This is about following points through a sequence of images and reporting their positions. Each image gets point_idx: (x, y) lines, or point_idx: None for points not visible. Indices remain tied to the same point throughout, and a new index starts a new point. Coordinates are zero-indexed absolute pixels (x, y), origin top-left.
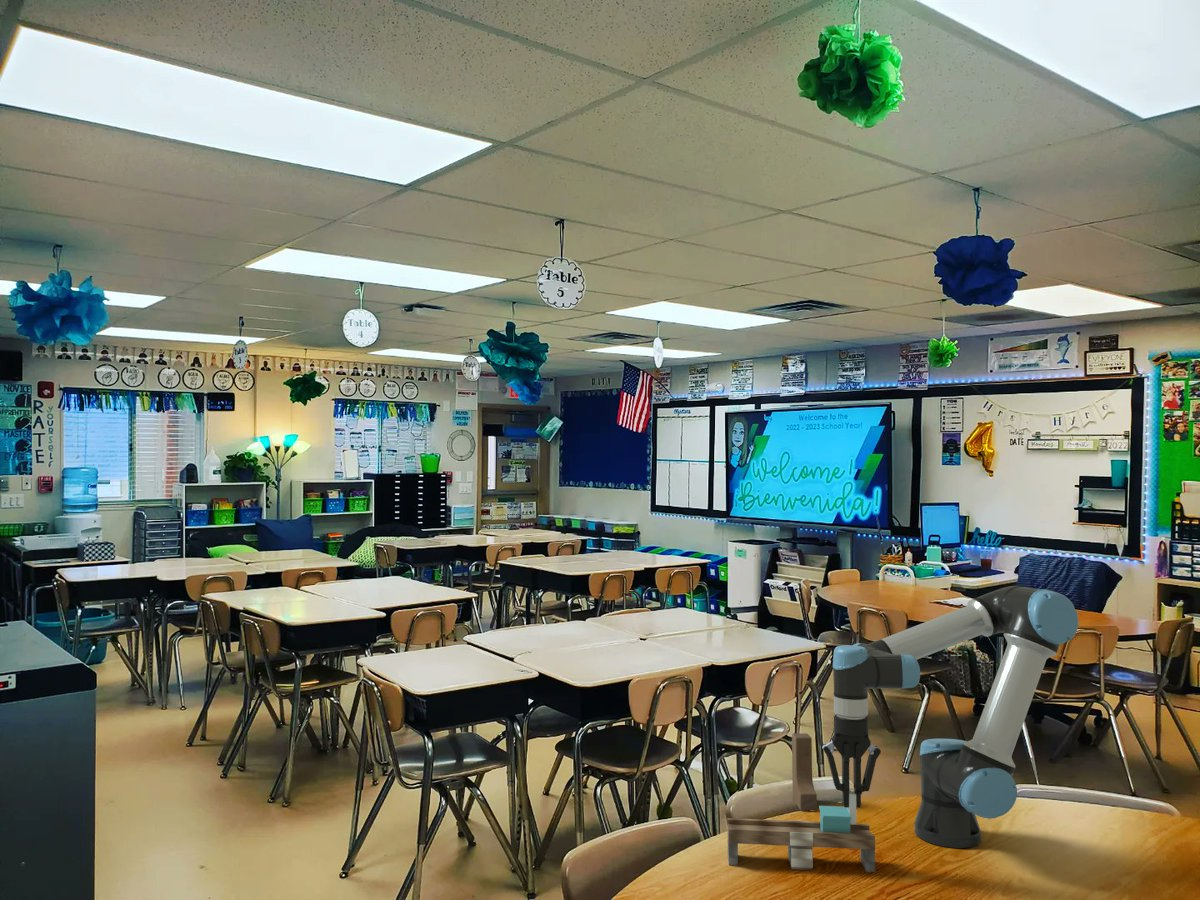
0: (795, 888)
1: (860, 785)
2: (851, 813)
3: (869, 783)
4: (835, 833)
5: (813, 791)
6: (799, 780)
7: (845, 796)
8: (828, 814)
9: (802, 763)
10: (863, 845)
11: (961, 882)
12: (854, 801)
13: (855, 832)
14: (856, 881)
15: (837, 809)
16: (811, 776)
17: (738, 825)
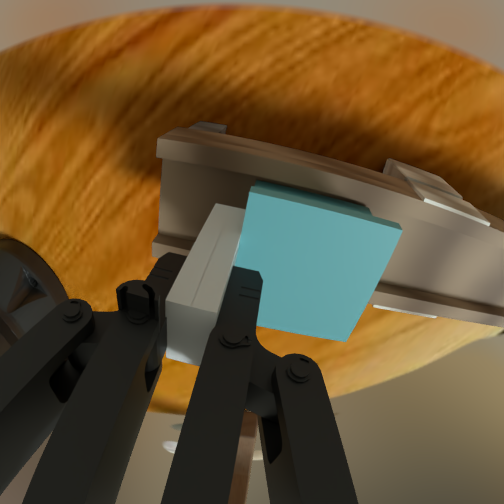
0: (471, 67)
1: (103, 345)
2: (229, 234)
3: (34, 336)
4: (330, 180)
5: None
6: (246, 460)
7: (243, 317)
8: (366, 243)
9: (235, 486)
10: (217, 136)
11: (28, 77)
12: (192, 271)
13: None
14: (284, 63)
15: (282, 296)
16: None
17: None
